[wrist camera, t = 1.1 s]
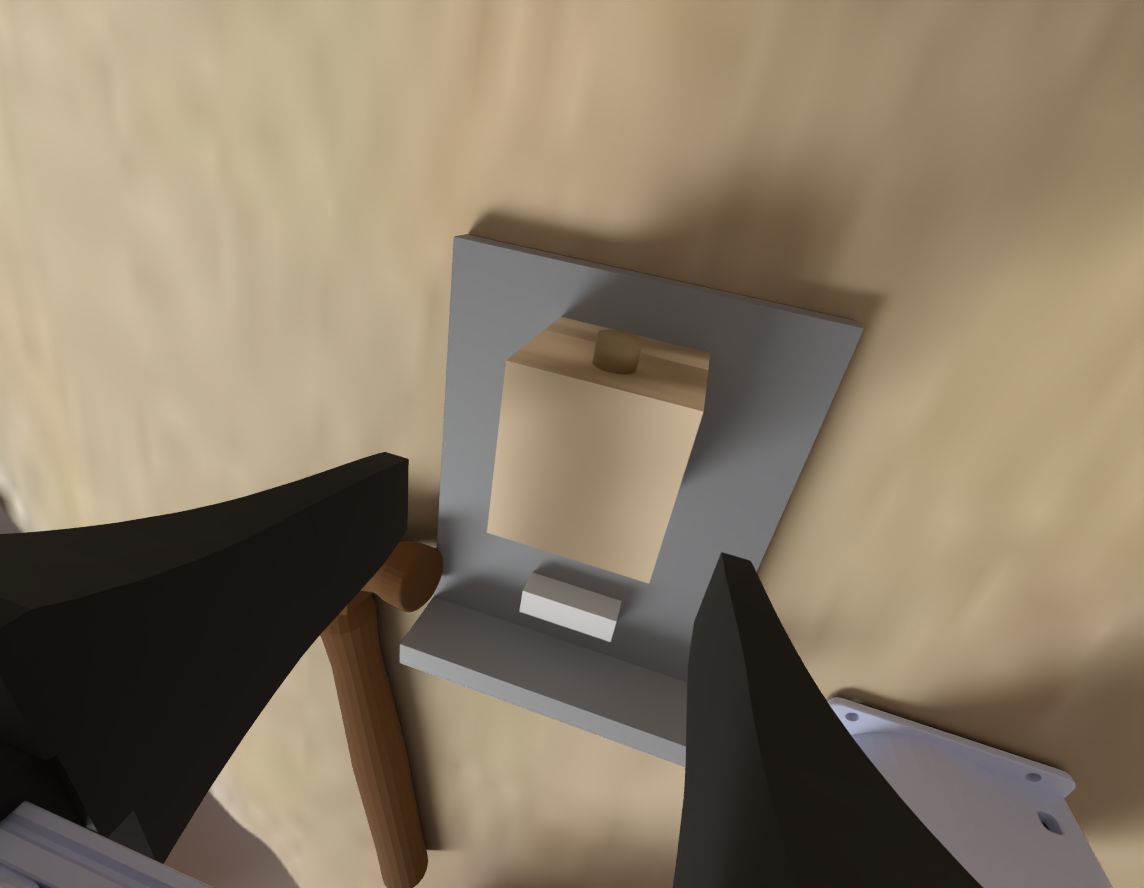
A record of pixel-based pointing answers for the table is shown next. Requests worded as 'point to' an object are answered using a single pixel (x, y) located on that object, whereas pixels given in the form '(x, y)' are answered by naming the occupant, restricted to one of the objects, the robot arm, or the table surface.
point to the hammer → (382, 709)
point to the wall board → (698, 520)
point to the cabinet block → (595, 444)
